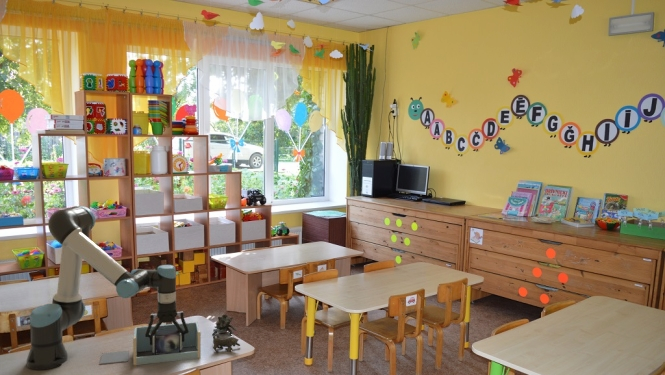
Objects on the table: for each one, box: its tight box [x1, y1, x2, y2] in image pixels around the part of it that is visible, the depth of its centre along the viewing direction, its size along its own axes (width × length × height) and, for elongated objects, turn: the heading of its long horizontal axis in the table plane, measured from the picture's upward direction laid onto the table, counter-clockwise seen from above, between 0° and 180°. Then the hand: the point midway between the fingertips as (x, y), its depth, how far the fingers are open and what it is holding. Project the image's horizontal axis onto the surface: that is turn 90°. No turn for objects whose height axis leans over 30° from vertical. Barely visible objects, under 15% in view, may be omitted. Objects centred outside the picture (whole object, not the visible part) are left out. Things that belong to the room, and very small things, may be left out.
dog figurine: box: [212, 334, 241, 354], centre depth 237 cm, size 12×6×7 cm, turn 98°
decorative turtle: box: [211, 313, 238, 337], centre depth 256 cm, size 23×11×10 cm, turn 179°
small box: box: [153, 329, 181, 355], centre depth 231 cm, size 11×6×10 cm, turn 104°
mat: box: [99, 350, 130, 366], centre depth 227 cm, size 11×11×1 cm
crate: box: [132, 321, 202, 366], centre depth 231 cm, size 27×15×12 cm, turn 109°
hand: (167, 350), depth 232 cm, fingers closed on small box, 11 cm apart
